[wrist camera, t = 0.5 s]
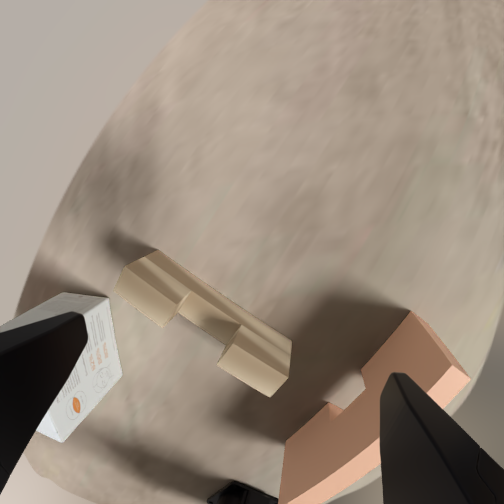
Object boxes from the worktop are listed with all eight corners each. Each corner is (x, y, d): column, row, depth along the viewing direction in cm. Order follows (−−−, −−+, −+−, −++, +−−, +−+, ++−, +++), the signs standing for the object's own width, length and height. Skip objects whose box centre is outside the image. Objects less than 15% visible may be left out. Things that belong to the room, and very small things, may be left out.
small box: (64, 290, 26) (-19, 332, 16) (111, 296, 25) (26, 350, 15) (79, 365, 27) (14, 421, 17) (124, 376, 27) (62, 445, 16)
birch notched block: (276, 359, 24) (269, 397, 19) (147, 270, 24) (113, 290, 19) (292, 340, 23) (288, 377, 18) (158, 249, 23) (124, 265, 18)
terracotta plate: (302, 449, 25) (298, 516, 18) (285, 441, 25) (277, 508, 18) (427, 323, 21) (470, 378, 14) (411, 310, 21) (452, 364, 14)
